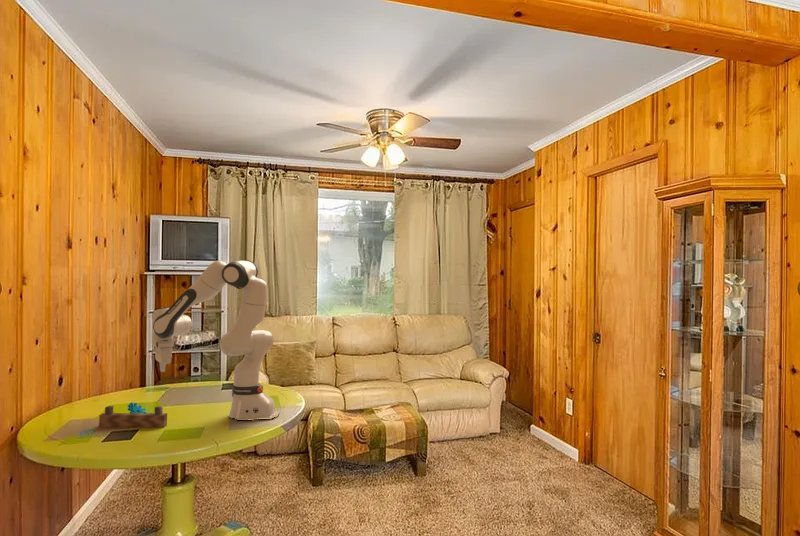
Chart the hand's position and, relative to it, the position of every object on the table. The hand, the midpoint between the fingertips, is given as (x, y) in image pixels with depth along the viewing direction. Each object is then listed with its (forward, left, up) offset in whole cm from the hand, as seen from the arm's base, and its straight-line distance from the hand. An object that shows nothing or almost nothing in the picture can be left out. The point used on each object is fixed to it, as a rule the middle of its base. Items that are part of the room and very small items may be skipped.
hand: (162, 371), depth 217 cm
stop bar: (+2, +22, -19) cm, 29 cm away
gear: (+4, +13, -19) cm, 23 cm away
